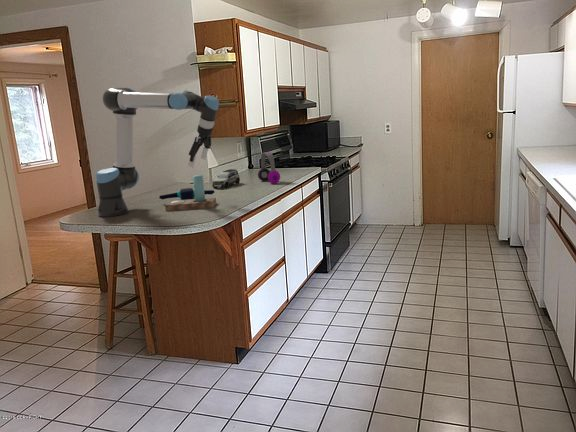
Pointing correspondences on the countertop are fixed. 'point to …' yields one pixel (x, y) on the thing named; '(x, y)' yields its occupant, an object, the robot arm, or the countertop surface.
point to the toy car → (226, 179)
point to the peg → (199, 188)
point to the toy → (184, 194)
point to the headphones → (265, 173)
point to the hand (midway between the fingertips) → (197, 162)
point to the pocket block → (190, 204)
